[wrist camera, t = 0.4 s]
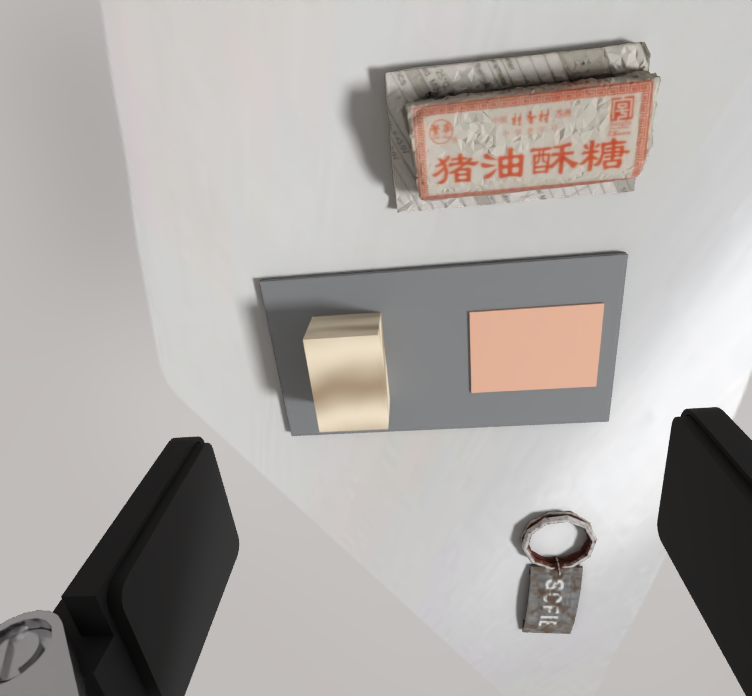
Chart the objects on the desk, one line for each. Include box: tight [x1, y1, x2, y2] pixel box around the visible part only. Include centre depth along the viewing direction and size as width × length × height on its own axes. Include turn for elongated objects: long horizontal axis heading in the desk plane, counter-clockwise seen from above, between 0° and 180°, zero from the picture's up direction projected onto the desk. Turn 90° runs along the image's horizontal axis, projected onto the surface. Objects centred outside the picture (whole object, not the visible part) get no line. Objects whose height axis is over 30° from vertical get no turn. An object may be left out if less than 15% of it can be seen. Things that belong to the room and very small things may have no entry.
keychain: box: [520, 512, 597, 634], centre depth 60 cm, size 8×19×2 cm, turn 2°
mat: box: [260, 252, 628, 436], centre depth 48 cm, size 16×30×1 cm, turn 96°
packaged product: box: [385, 42, 661, 213], centre depth 38 cm, size 18×5×10 cm
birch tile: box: [303, 312, 390, 432], centre depth 46 cm, size 9×6×4 cm, turn 6°
